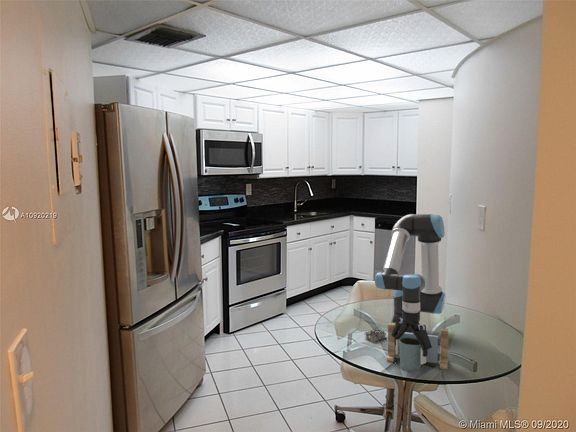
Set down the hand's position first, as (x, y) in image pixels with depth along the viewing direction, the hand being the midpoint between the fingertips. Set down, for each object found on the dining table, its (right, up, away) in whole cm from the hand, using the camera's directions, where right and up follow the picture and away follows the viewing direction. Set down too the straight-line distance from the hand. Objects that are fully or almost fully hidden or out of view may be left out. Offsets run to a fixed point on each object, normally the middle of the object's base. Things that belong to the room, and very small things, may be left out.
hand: (410, 358), depth 192 cm
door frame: (+5, -3, +7) cm, 9 cm away
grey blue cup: (0, -4, +1) cm, 4 cm away
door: (+5, -3, +8) cm, 10 cm away
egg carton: (-8, -2, +36) cm, 37 cm away
